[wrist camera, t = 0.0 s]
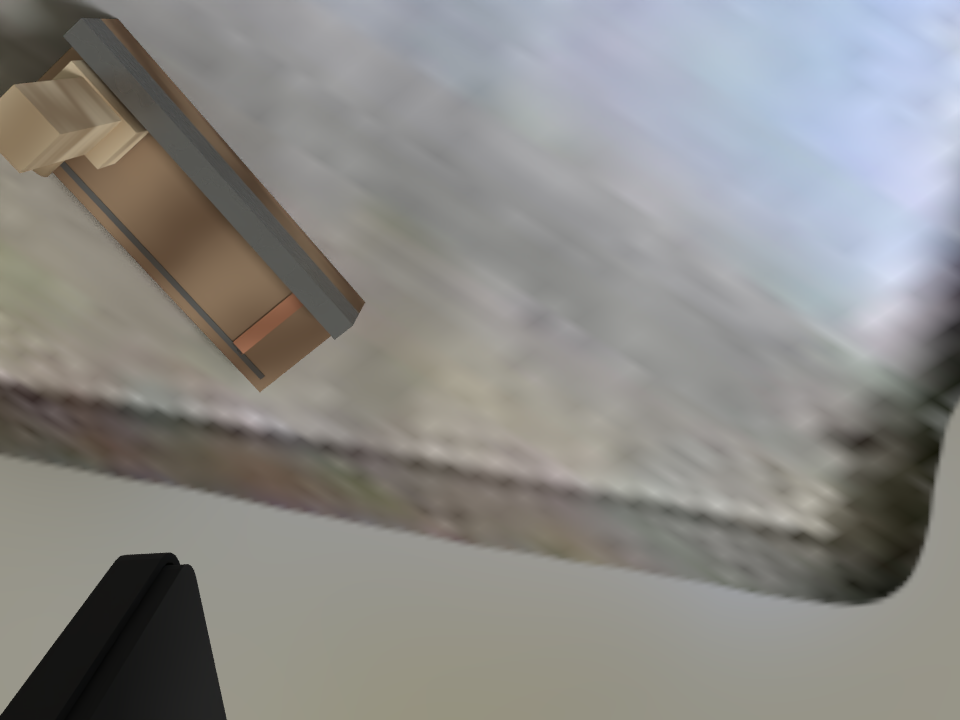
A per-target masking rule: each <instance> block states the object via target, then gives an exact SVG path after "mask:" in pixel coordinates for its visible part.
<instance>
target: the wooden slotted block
mask: <svg viewBox="0 0 960 720" xmlns="http://www.w3.org/2000/svg"><path fill="white" fill-rule="evenodd" d="M63 37H64V38H65V39H66V40H67V41H68V43H69V44H70V45H71V46H72V47H71V48H70V49H69V50H68V51H67V52H66V53H65V54H64V55H63V56H62V57H61V58H60V59H59V60H58V61H57V62H56V63H55V64H54V65H53V66H52V67H51V68H50V69H49V70H48V71H47V72H46V73H45V74H44V75H43V76H42V77H41V78H40V79H39V80H38V81H37V82H41V81H51V80H52V79H53V78H54V77H55V76H56V75H57V74H58V73H60V72H61V71H62V70H63V69H64V68H65V67H66V66H67V65H68V64H69V63H70V62H71V61H77V60H85V62H86V63H87V64H88V65H89V66H90V67H91V68H92V69H93V70H94V72H95V73H96V74H97V75H98V76H99V77H100V78H101V79H102V81H103V82H104V83H105V84H106V85H107V86H108V87H109V88H110V89H111V91H112V92H113V93H114V94H115V95H116V96H117V97H118V98H119V99H120V101H121V102H122V103H123V104H124V105H125V106H126V107H127V108H128V110H129V111H130V112H131V113H132V114H133V115H134V116H135V117H136V118H137V120H138V121H139V122H140V123H141V124H142V125H143V126H144V127H145V129H146V130H147V131H148V132H149V133H148V134H147V135H145V136H144V137H143V138H142V139H141V140H140V141H139V142H138V143H137V144H136V145H135V146H134V147H133V148H131V149H130V150H129V151H128V152H127V153H126V154H125V155H124V156H123V157H122V158H121V159H120V160H118V161H117V162H116V163H115V164H112V165H109V166H106V167H103V168H100V169H97V168H96V167H95V166H94V165H93V164H92V163H91V162H90V161H89V160H88V158H87V157H86V156H85V155H82V156H78V157H75V158H71V159H68V160H65V161H64V162H63V163H62V164H61V165H60V166H58V167H57V168H56V169H55V170H54V171H53V173H54V174H55V175H56V176H57V177H58V178H59V179H60V180H61V182H62V183H63V184H64V185H65V186H66V187H67V188H68V189H69V190H70V191H71V192H72V193H73V194H74V195H75V196H76V197H77V198H78V200H79V201H80V202H81V203H82V204H83V205H84V206H85V207H86V208H87V209H88V210H89V211H90V212H91V213H92V214H93V215H94V217H95V218H96V219H97V220H98V221H99V222H100V223H101V224H102V225H103V226H104V227H105V228H106V229H107V230H108V231H109V232H110V234H111V235H112V236H113V237H114V238H115V239H116V240H117V241H118V242H119V243H120V244H121V245H122V246H123V247H124V248H125V249H126V251H127V252H128V253H129V254H130V255H131V256H132V257H133V258H134V259H135V260H136V261H137V262H138V263H139V264H140V265H141V266H142V268H143V269H144V270H145V271H146V272H147V273H148V274H149V275H150V276H151V277H152V278H153V279H154V280H155V281H156V282H157V283H158V285H159V286H160V287H161V288H162V289H163V290H164V291H165V292H166V293H167V294H168V295H169V296H170V297H171V298H172V299H173V300H174V302H175V303H176V304H177V305H178V306H179V307H180V308H181V309H182V310H183V311H184V312H185V313H186V314H187V315H188V316H189V317H190V319H191V320H192V321H193V322H194V323H195V324H196V325H197V326H198V327H199V328H200V329H201V330H202V331H203V332H204V333H205V334H206V336H207V337H208V338H209V339H210V340H211V341H212V342H213V343H214V344H215V345H216V346H217V347H218V348H219V349H220V350H221V351H222V353H223V354H224V355H225V356H226V357H227V358H228V359H229V360H230V361H231V362H232V363H233V364H234V365H235V366H236V367H237V368H238V369H239V371H240V372H241V373H242V374H243V375H244V376H245V377H246V378H247V379H248V380H249V381H250V382H251V383H252V384H253V385H254V386H255V388H256V389H257V390H258V391H259V392H261V391H262V390H263V389H265V388H266V387H267V386H268V385H270V384H271V383H272V382H273V381H275V380H276V379H277V378H278V377H280V376H281V375H282V374H283V373H285V372H286V371H287V370H288V369H290V368H291V367H292V366H294V365H295V364H296V363H297V362H299V361H300V360H301V359H302V358H304V357H305V356H306V355H307V354H309V353H310V352H311V351H312V350H314V349H315V348H316V347H317V346H319V345H320V344H321V343H322V342H324V341H325V340H326V339H327V338H329V337H330V336H332V337H333V338H334V340H335V339H336V338H337V337H339V336H340V335H341V334H342V333H344V332H345V331H346V330H348V329H349V328H350V327H351V326H353V324H354V322H355V320H356V318H357V317H358V315H359V313H360V311H361V309H362V307H363V305H364V303H365V302H364V300H363V299H362V298H361V297H360V296H359V295H358V294H357V292H356V291H355V290H354V289H353V288H352V287H351V286H350V284H349V283H348V282H347V281H346V280H345V279H344V278H343V276H342V275H341V274H340V273H339V272H338V271H337V270H336V268H335V267H334V266H333V265H332V264H331V263H330V261H329V260H328V259H327V258H326V257H325V256H324V255H323V253H322V252H321V251H320V250H319V249H318V248H317V247H316V245H315V244H314V243H313V242H312V241H311V240H310V239H309V237H308V236H307V235H306V234H305V233H304V232H303V231H302V229H301V228H300V227H299V226H298V225H297V224H296V223H295V221H294V220H293V219H292V218H291V217H290V216H289V214H288V213H287V212H286V211H285V210H284V209H283V208H282V206H281V205H280V204H279V203H278V202H277V201H276V200H275V198H274V197H273V196H272V195H271V194H270V193H269V192H268V190H267V189H266V188H265V187H264V186H263V185H262V184H261V182H260V181H259V180H258V179H257V178H256V177H255V176H254V174H253V173H252V172H251V171H250V170H249V169H248V167H247V166H246V165H245V164H244V163H243V162H242V161H241V159H240V158H239V157H238V156H237V155H236V154H235V153H234V151H233V150H232V149H231V148H230V147H229V146H228V145H227V143H226V142H225V141H224V140H223V139H222V138H221V137H220V135H219V134H218V133H217V132H216V131H215V130H214V129H213V127H212V126H211V125H210V124H209V123H208V122H207V120H206V119H205V118H204V117H203V116H202V115H201V114H200V112H199V111H198V110H197V109H196V108H195V107H194V106H193V104H192V103H191V102H190V101H189V100H188V99H187V98H186V96H185V95H184V94H183V93H182V92H181V91H180V90H179V88H178V87H177V86H176V85H175V84H174V83H173V82H172V80H171V79H170V78H169V77H168V76H167V75H166V73H165V72H164V71H163V70H162V69H161V68H160V67H159V65H158V64H157V63H156V62H155V61H154V60H153V59H152V57H151V56H150V55H149V54H148V53H147V52H146V51H145V49H144V48H143V47H142V46H141V45H140V44H139V43H138V41H137V40H136V39H135V38H134V37H133V36H132V35H131V33H130V32H129V31H128V30H127V29H126V28H125V27H124V25H123V24H122V23H121V22H120V21H119V20H118V19H98V18H81V19H80V20H79V21H78V22H77V23H76V24H75V25H74V26H73V27H72V28H70V29H69V30H68V31H67V32H66V33H65V34H64V35H63Z"/></svg>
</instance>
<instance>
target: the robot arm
mask: <svg viewBox="0 0 960 720" xmlns="http://www.w3.org/2000/svg"><path fill="white" fill-rule="evenodd" d="M0 720H227V719H226V714H225V710H224V705H223V700H222V696H221V691H220V686H219V682H218V677H217V673H216V668H215V663H214V658H213V654H212V650H211V644H210V640H209V635H208V631H207V626H206V621H205V617H204V612H203V607H202V603H201V598H200V593H199V589H198V584H197V580H196V576H195V572H194V570H193V568H192V566H190V565H188V564H184V565H180V563H179V561H178V559H177V557H176V556H175V555H174V554H172V553H154V554H134V555H123V556H120V557H119V558H118V559H117V560H116V561H115V562H114V563H113V565H112V566H111V567H110V569H109V570H108V572H107V573H106V574H105V575H104V577H103V578H102V580H101V581H100V582H99V584H98V585H97V586H96V588H95V589H94V590H93V592H92V593H91V594H90V596H89V597H88V599H87V600H86V601H85V603H84V604H83V605H82V607H81V608H80V609H79V610H78V612H77V613H76V615H75V616H74V617H73V619H72V620H71V621H70V623H69V624H68V625H67V627H66V628H65V629H64V631H63V632H62V633H61V635H60V636H59V637H58V639H57V640H56V641H55V643H54V644H53V645H52V647H51V648H50V649H49V651H48V652H47V654H46V655H45V656H44V658H43V659H42V660H41V662H40V663H39V664H38V666H37V667H36V668H35V670H34V671H33V672H32V674H31V675H30V676H29V678H28V679H27V681H26V682H25V683H24V685H23V686H22V687H21V689H20V690H19V691H18V693H17V694H16V695H15V697H14V698H13V699H12V701H11V702H10V703H9V705H8V706H7V707H6V709H5V710H4V712H3V713H2V714H1V715H0Z"/></svg>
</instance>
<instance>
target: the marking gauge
mask: <svg viewBox="0 0 960 720" xmlns="http://www.w3.org/2000/svg"><path fill="white" fill-rule="evenodd" d="M148 133H149V132H148V131H147V130H146V129H145V127H144V126H143V125H142V124H141V123H140V122H139V121H138V120H137V118H136V117H135V116H134V115H133V114H132V113H131V112H130V111H129V110H128V108H127V107H126V106H125V105H124V104H123V103H122V102H121V101H120V99H119V98H118V97H117V96H116V95H115V94H114V93H113V92H112V91H111V89H110V88H109V87H108V86H107V85H106V84H105V83H104V82H103V81H102V79H101V78H100V77H99V76H98V75H97V74H96V73H95V72H94V70H93V69H92V68H91V67H90V66H89V65H88V64H87V63H86V62H85V60H77V61H71V62H70V63H69V64H68V65H67V66H66V67H65V68H64V69H63V70H62V71H61V72H60V73H58V74H57V75H56V76H55V77H54V78H53V79H52V80H51V81H41V82H31V83H22V84H14V85H13V86H12V87H11V88H10V89H9V90H8V91H7V92H6V93H5V94H4V95H3V96H2V97H1V98H0V153H1V154H2V155H3V156H4V157H5V158H6V159H7V160H8V161H9V162H10V164H11V165H12V166H13V167H14V168H15V169H16V170H17V171H18V172H19V173H23V172H26V171H30V170H33V171H34V172H36V173H37V174H39V175H40V176H43V177H48V176H49V175H50V174H51V173H52V172H53V171H54V170H55V169H56V168H57V167H58V166H60V165H61V164H62V163H63V162H64V161H65V160H68V159H71V158H75V157H78V156H82V155H85V156H86V157H87V158H88V160H89V161H90V162H91V163H92V164H93V165H94V166H95V167H96V168H97V169H100V168H103V167H106V166H109V165H112V164H115V163H116V162H117V161H118V160H120V159H121V158H122V157H123V156H124V155H125V154H126V153H127V152H128V151H129V150H130V149H131V148H133V147H134V146H135V145H136V144H137V143H138V142H139V141H140V140H141V139H142V138H143V137H144V136H145V135H147V134H148Z"/></svg>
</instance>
